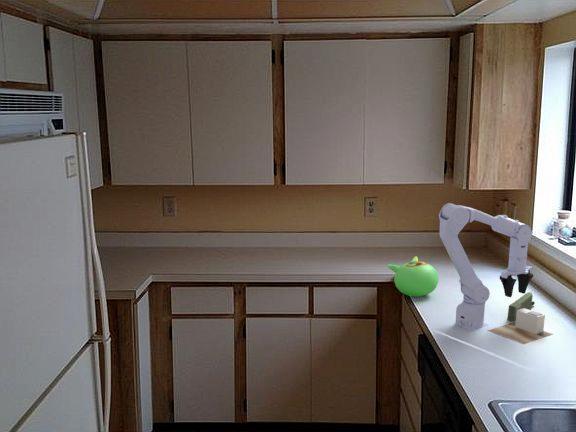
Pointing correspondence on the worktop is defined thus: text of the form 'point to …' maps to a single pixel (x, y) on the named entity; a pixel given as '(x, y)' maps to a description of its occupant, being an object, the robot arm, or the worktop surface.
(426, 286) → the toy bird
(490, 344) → the worktop surface
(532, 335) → the board
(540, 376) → the worktop surface
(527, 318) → the block
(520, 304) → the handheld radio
